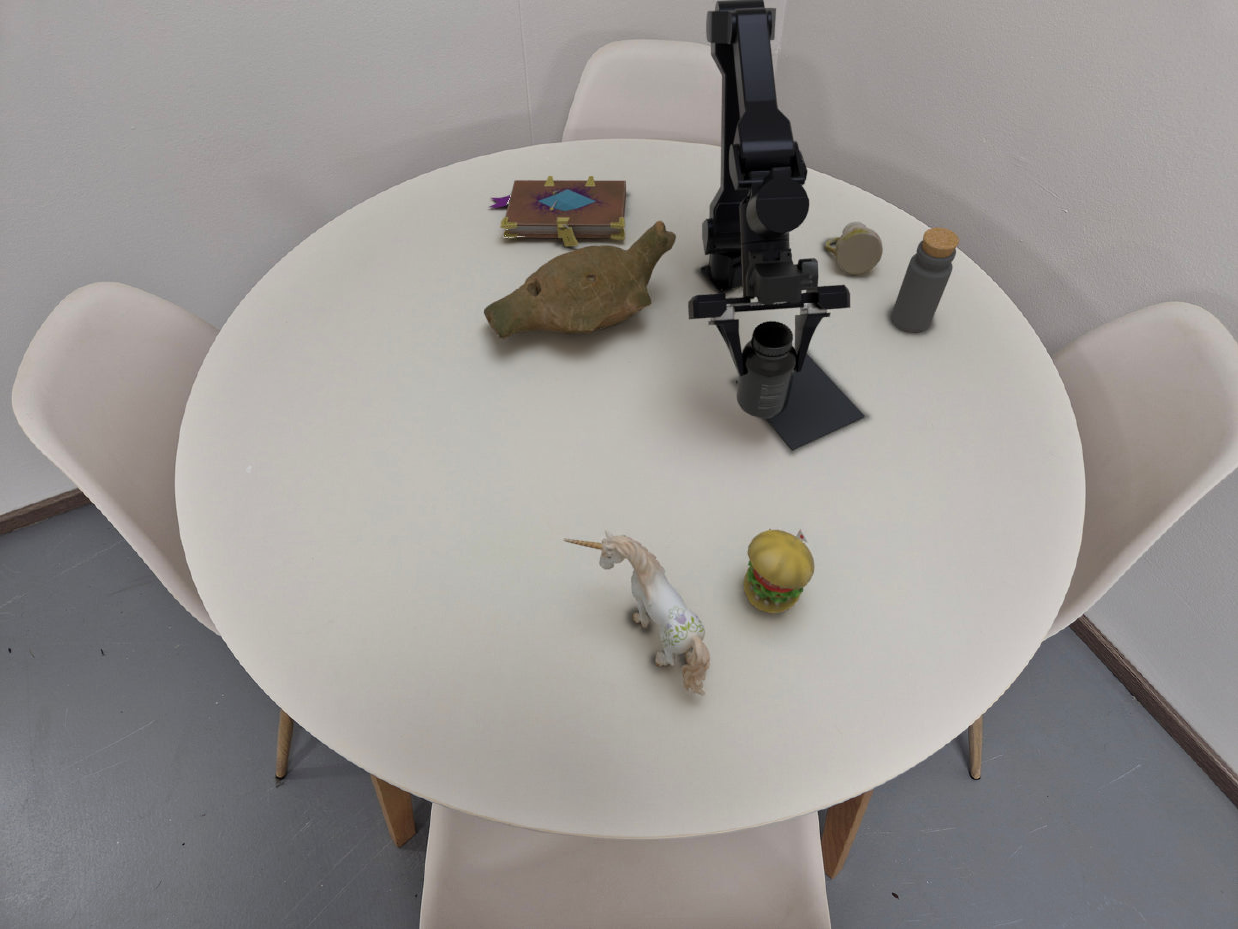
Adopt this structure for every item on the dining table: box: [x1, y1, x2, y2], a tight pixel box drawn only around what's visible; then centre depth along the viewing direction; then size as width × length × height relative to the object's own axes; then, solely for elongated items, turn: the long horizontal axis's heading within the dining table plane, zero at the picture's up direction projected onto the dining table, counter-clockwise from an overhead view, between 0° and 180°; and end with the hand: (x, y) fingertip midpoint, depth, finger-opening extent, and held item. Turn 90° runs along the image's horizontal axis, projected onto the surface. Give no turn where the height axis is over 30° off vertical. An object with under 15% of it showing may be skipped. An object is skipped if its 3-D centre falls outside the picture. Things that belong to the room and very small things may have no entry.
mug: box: [824, 221, 884, 275], centre depth 122 cm, size 8×10×10 cm
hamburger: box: [742, 528, 815, 614], centre depth 86 cm, size 8×7×12 cm
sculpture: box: [483, 220, 677, 340], centre depth 115 cm, size 14×16×30 cm
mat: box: [735, 353, 865, 451], centre depth 107 cm, size 14×12×1 cm
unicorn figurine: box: [562, 529, 711, 697], centre depth 83 cm, size 7×20×13 cm, turn 46°
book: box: [488, 175, 627, 247], centre depth 131 cm, size 16×25×5 cm, turn 87°
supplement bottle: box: [736, 320, 797, 419], centre depth 96 cm, size 7×7×12 cm
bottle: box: [891, 227, 960, 333], centre depth 110 cm, size 6×6×15 cm
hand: (769, 374), depth 94 cm, fingers closed on supplement bottle, 7 cm apart
